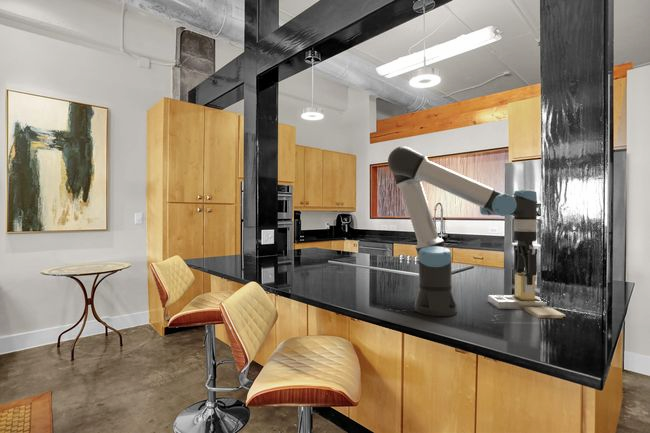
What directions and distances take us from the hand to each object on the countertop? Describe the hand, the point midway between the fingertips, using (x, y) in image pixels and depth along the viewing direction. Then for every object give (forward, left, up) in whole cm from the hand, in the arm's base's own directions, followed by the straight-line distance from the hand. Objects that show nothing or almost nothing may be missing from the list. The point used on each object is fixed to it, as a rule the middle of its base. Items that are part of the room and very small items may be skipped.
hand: (524, 291), depth 130 cm
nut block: (0, 0, -4) cm, 4 cm away
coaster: (+1, -11, -6) cm, 13 cm away
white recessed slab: (-3, 0, -6) cm, 6 cm away
